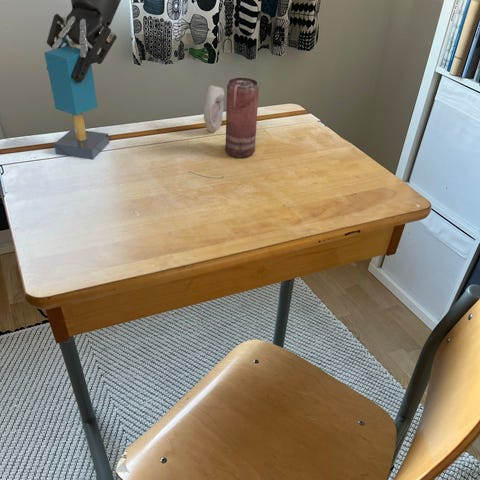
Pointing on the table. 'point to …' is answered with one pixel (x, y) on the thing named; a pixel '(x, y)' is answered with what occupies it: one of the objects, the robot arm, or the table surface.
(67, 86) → the tall teal pillar
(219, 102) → the fossil
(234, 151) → the can
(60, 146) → the peg stand
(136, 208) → the table surface
